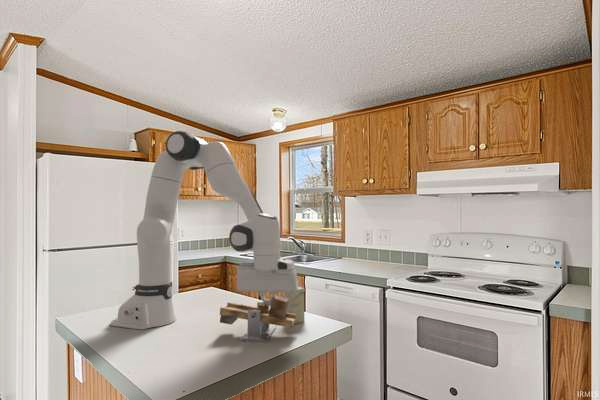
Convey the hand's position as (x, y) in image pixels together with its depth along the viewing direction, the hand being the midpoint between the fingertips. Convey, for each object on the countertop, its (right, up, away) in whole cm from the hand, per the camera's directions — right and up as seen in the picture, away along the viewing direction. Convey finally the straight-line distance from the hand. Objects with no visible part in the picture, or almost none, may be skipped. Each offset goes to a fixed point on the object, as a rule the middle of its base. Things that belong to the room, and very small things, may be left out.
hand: (267, 305), depth 121 cm
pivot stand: (-3, -10, 0) cm, 10 cm away
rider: (+3, -4, -1) cm, 5 cm away
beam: (-4, -7, 0) cm, 8 cm away
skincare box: (+9, -10, +13) cm, 19 cm away
